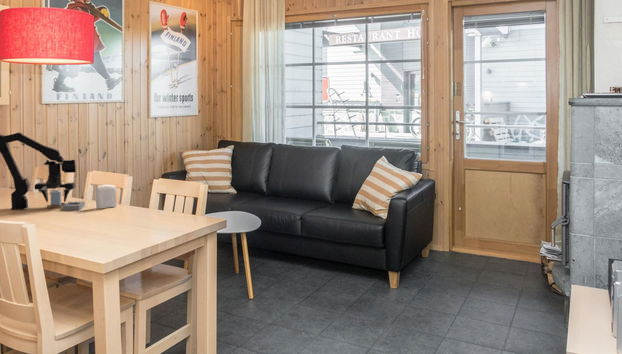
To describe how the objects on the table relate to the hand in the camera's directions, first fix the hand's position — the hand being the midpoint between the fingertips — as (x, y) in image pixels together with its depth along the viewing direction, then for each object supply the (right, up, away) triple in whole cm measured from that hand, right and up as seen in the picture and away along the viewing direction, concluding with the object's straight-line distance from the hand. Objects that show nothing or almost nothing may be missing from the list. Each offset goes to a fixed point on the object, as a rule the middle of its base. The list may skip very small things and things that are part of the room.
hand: (56, 202), depth 272 cm
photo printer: (+26, -3, +2) cm, 26 cm away
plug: (0, -3, 0) cm, 3 cm away
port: (+11, -3, -3) cm, 11 cm away
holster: (0, -2, +4) cm, 5 cm away
